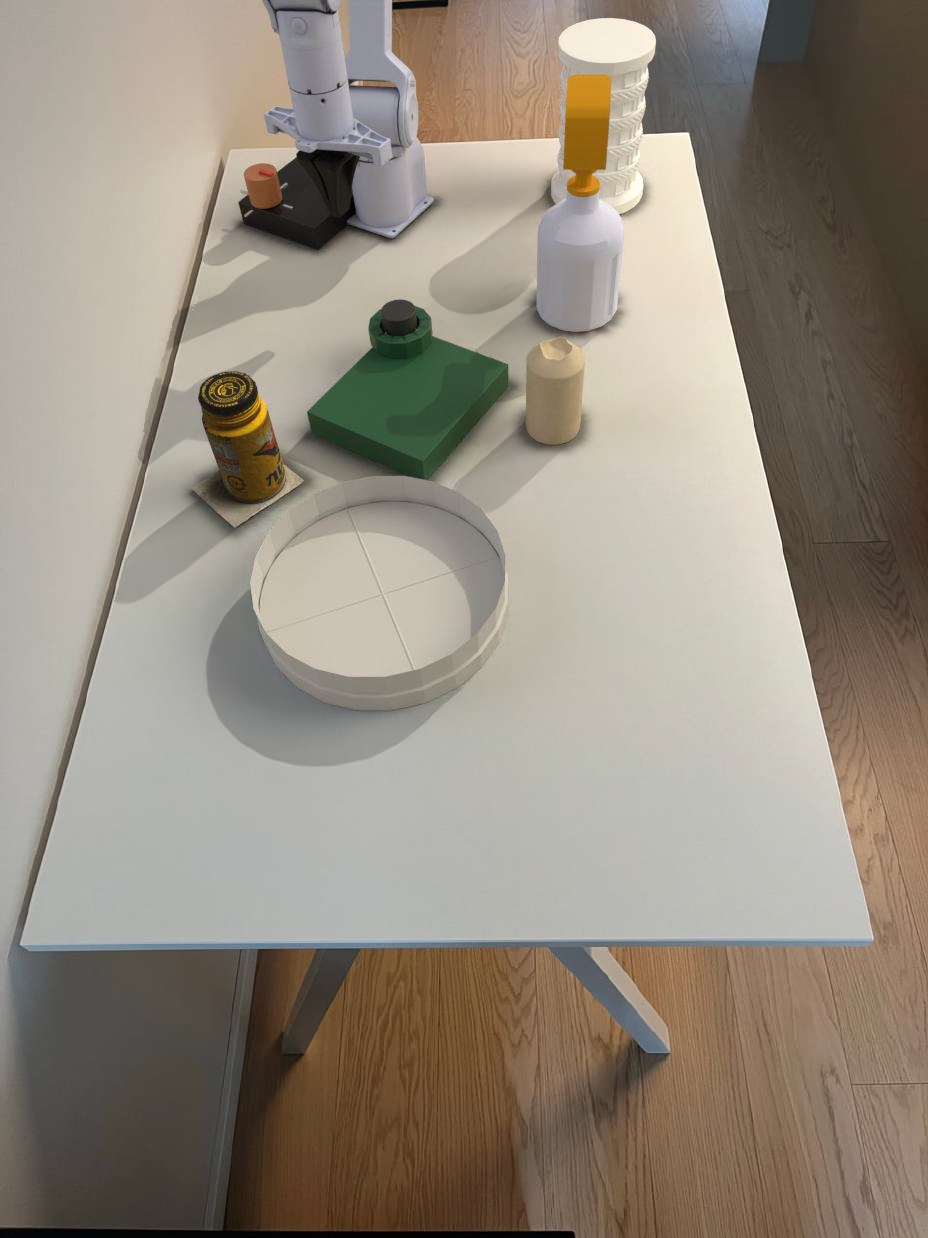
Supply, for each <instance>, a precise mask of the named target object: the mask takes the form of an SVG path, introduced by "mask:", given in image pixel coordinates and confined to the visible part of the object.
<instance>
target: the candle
mask: <svg viewBox="0 0 928 1238" xmlns="http://www.w3.org/2000/svg"><path fill="white" fill-rule="evenodd" d="M525 360H526V361H525V379H526V380H525V427H526V431H527V434H528V435H529V437H531V438H532V439H533V440H535V441H536V442H538V443H541V444H544V445H549V446H550V445H551V446H556V445H562V444H566V443H568V442H570V441H572V440H573V439H574V438H575V437H576V436H577V435H578V433H579V431H580V428H581V420H582V408H583V395H584V394H583V393H584V381H585V380H584V379H585V365H586V358H585V354H584V352H583V351H582V349H581V348H580V347H579V346H577V345H575V344H574V343H573V342H571V341H569V340H568V339H567V338H566V337H564V336H558V337H555V338H553V339H547V340H545V339H544V340H542V341H540V343H538V344H536V345H534V346H533V347H532V348H531V349H530V350H529V351H528V352H527V354H526V359H525Z"/></svg>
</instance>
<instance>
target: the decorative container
mask: <svg viewBox="0 0 928 1238" xmlns="http://www.w3.org/2000/svg"><path fill="white" fill-rule="evenodd" d="M557 45H558V46H557V47H558V48H557V57H558V58H559V61H560V62H561V63H562V64H563V65H562V66H563V67H562V68H561V72H560V75H559V82H560V88H561V90H562V95H561V97H560V99H559V103H558V110H559V116H560V118H561V120H560V121H561V122H560V124H559V127H558V132H557V135H558V142H559V144H560V148H559V149H558V154H557V158H556V161H557V166H558V170H556V171H555V172H554V174H553V176H552V178H551V180H550V181H551V183H550V184H551V185H550V197H551V199H552V201H553V202H554V204H555V205H556V204H557V203H559V202H560V201H562V200H565V199H567V182H568V180H569V179H570V178H571V177H573V176H576V173H574V172H573V171H572V170H563V165H564V138H565V114H566V96H567V79H568V78H569V77H570V76H572V75H608V76H610V78H611V102H610V120H609V133H608V147H607V160H606V170H597V171H596V172H595V173H593V174H592V176H594V177H596V178H597V179H598V180H599V182H600V191H599V200H602V201H604V202H605V203H607V204H608V205H610V206H611V207H612V208H614V209H615V210H617V212H618V213H619V215H621V214H625V213H627V212H629V211H630V210H631V209H634V208H635V207H636V206H637V205H638V204H639V203H640V201H641V199H642V197H643V194H644V193H643V192H644V178H643V176H642V175H641V173H640V172H639V170H638V169H639V167H640V164H641V162H640V161H641V154H640V145H641V143H642V139H643V135H644V132H643V131H644V129H643V123H642V121H643V118H644V115H645V112H646V107H647V105H646V96H645V92H646V90H647V87H648V83H649V79H650V76H649V68H648V65H649V63H650V62H651V61H653V58H654V57H655V55H656V45H657V39H656V35H655V34H654V32H653V30H652V29H650V28H649V27H648V26H646V25H644V24H642V23H639V22H637V21H633V20H629V19H625V18H616V17H615V18H614V17H606V18H605V17H601V18H600V17H599V18H591V19H586V20H584V21H579V22H577V23H574V24H572V25H570V26H568V27H566V28H565V29H563V31H561V33H560V35H559V37H558V43H557Z"/></svg>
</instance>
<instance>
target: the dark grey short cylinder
mask: <svg viewBox="0 0 928 1238" xmlns="http://www.w3.org/2000/svg"><path fill="white" fill-rule="evenodd" d="M415 306H416V305H415V304H414V303H413V302H412V301H409V300H407V299H400V298H399V299H394V300H390V301H388V302H386V303H385V304H384V305H382V307H381V308H380V309H381V317H382V324H383V329H384V331H385V333H386V334H388V335H391V336H405V335H408V334H410V333H413V332H414V331H415V330H416V328H417V318H416V309H415Z"/></svg>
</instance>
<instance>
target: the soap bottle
mask: <svg viewBox="0 0 928 1238" xmlns="http://www.w3.org/2000/svg"><path fill="white" fill-rule="evenodd" d="M610 102H611V78H610V76H608V75H572V76H570V77H569V78H568V79H567V96H566V114H565V138H564V165H563V170H572V171H573V172H574V173H576V176H573V177H571V178H570V179H569V180H568V182H567V199H565V200H562V201H560V202H559V203H557V204H556V203H555V204H554V205H552V206H551V207H550V208H548V209H547V210H546V211H545V213H544V214H543V215H542V216H541V219H540V221H539V224H538V225H537V226H538V228H537V246H536V249H537V250H536V251H537V252H536V253H537V254H536V311H537V312H538V314H539V317H540V318H541V320H542V321H544V322H545V323H546V324H548V325H549V326H550V327H553V328H555V329H558V330H560V331H566V332H573V333H580V332H589V331H592V330H595V329H596V330H597V329H598V328H599V329H600V328H601V327H604V325H606V324H607V323H609V322H610V321H611V320H612V319H613V317H614V315H615V314H616V313H617V310H618V302H619V293H620V281H621V272H622V263H623V262H622V261H623V253H624V252H623V250H624V241H625V225H624V222H623V217H621V214H619V213H618V212H617V210H615V209H614V208H612V207H611V206H610V205H608V204H607V203H605V202H604V201H602V200H599V191H600V182H599V180H598V179H597V178H596V177H594V176H592V174H593V173H595V172H596V171H597V170H606V160H607V147H608V133H609V120H610Z"/></svg>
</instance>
